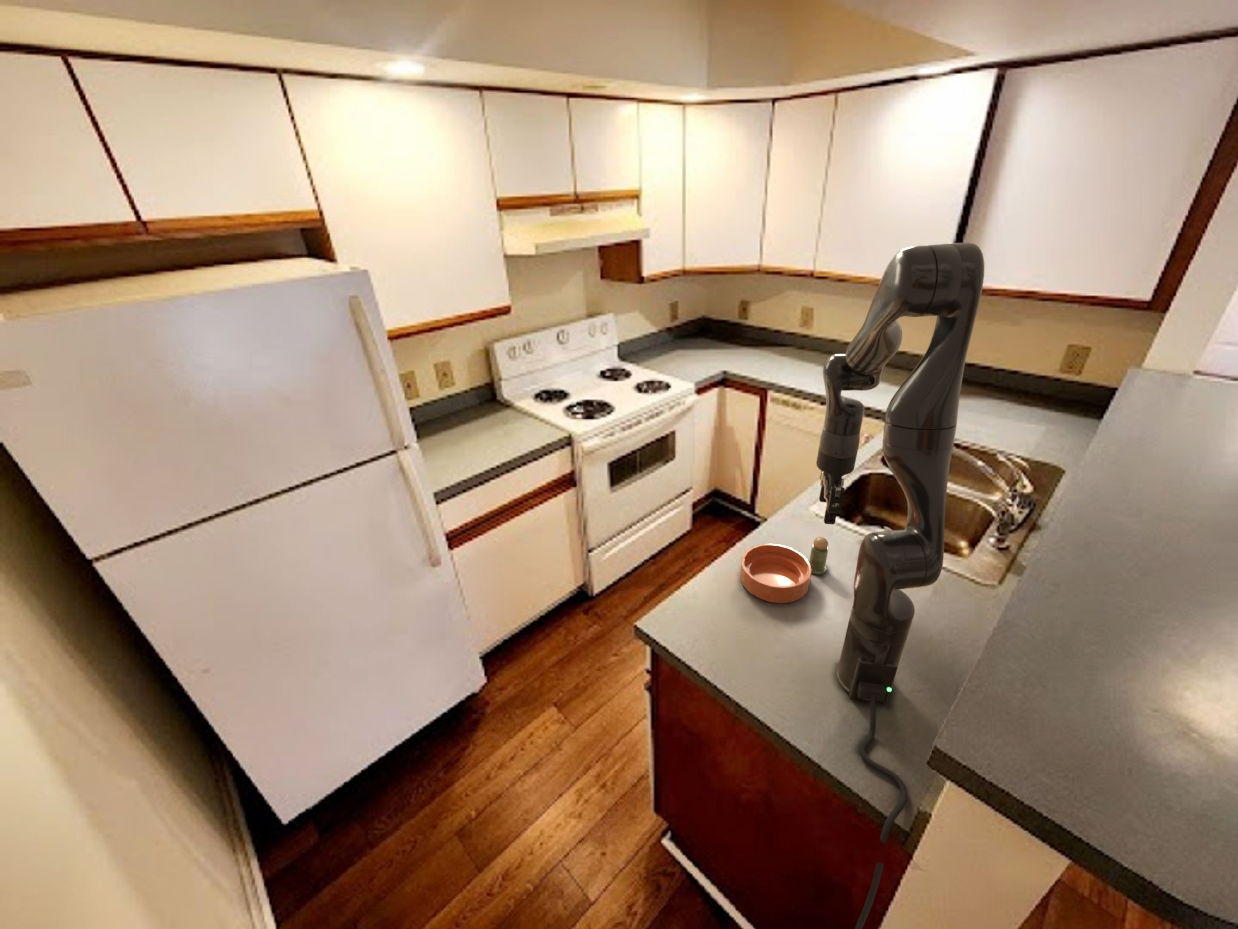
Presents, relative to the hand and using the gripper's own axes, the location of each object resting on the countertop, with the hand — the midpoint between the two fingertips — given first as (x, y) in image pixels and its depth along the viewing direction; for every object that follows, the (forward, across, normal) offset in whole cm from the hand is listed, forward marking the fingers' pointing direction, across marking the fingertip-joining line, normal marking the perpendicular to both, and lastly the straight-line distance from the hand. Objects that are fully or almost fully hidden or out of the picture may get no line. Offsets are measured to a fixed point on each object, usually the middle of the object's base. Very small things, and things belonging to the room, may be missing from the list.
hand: (826, 512), depth 118 cm
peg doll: (+16, 0, 0) cm, 16 cm away
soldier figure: (+16, -9, +15) cm, 24 cm away
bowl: (+16, +6, -10) cm, 20 cm away
